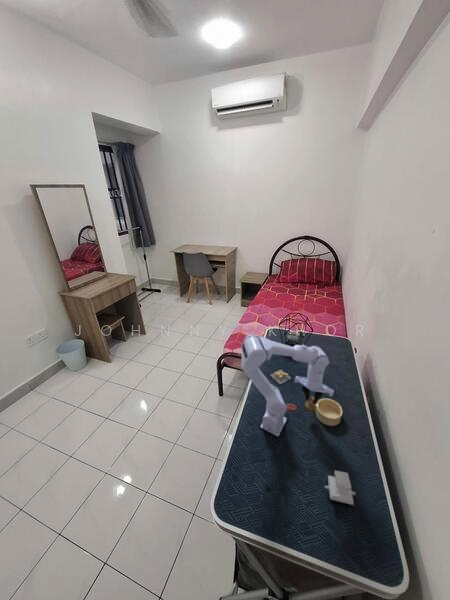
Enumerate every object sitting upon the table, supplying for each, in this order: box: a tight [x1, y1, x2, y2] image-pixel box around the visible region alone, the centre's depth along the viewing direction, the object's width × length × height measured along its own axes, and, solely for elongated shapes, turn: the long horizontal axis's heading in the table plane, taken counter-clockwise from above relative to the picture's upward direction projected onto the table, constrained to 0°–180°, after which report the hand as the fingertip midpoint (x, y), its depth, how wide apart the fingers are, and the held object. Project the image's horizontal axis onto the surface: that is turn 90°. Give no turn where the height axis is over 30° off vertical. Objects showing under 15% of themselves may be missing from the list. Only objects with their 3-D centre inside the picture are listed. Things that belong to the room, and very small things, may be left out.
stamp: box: [324, 470, 357, 506], centre depth 75 cm, size 9×7×8 cm
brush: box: [304, 395, 317, 413], centre depth 99 cm, size 4×4×6 cm
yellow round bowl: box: [315, 397, 343, 427], centre depth 101 cm, size 10×10×4 cm
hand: (311, 400), depth 98 cm, fingers closed on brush, 2 cm apart
